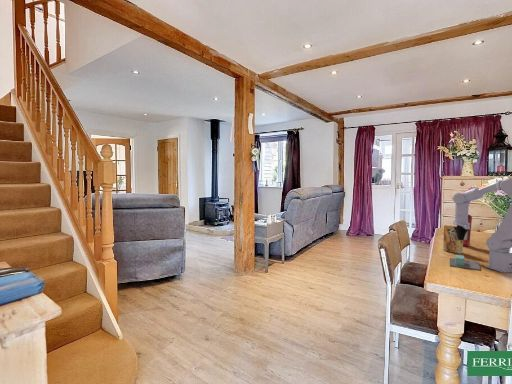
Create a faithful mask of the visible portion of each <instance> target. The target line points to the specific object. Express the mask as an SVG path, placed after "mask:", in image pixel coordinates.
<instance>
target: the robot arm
mask: <svg viewBox="0 0 512 384" xmlns="http://www.w3.org/2000/svg"><path fill="white" fill-rule="evenodd" d="M497 191H502V192H503V193H504V194H506V195H507V196H508V197H509V199H511V200H512V178H505V179H500V180H497V181H495V182H493V183H490V184H488V185H486V186H483V187H476V186H475V187H474V186H473V187H471V188H470V189H468V190H463V191H462V192H457V193H455V194H453V197H452V201H453V202H454V203H455V210H454V220H453V221H452V225H453V226H454V229H455V231H456V233H457V238H458V240H464V237H465V234H466V232H467V231H468V230H469V229H470V223H468V214H469V207H470V204H471V202H473V201H476V200H479V199H482V198H483V197H484V195H486V194H489V193H493V192H497ZM485 244H486V248H488V250H489V251H488V252H489V254H488V255H489V257H488V264H486V265H485V264H484V265H483V267H485V268H487V269H490V270H494V271H497V272H499V273H512V253H511V252H510V251H511V248H512V202H511V203H510V205H509V207H508V209H507V211H506V213H505V215H504V217H503V218H502V220H501V223H500V224H499V226H498V228H497V230H496V231H494V232H493V233H492V234H491V235H490V237H488V238H487V239H486V242H485Z"/></svg>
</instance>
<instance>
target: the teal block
mask: <svg viewBox="0 0 512 384" xmlns="http://www.w3.org/2000/svg"><path fill="white" fill-rule="evenodd" d="M454 255H455V256H454V257H455V265H462V266H464V260H465V256H464V255H462V254H454Z"/></svg>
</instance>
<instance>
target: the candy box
mask: <svg viewBox="0 0 512 384" xmlns="http://www.w3.org/2000/svg"><path fill="white" fill-rule="evenodd" d="M454 226H455V225H454V224H452V225H451V224H445V225H443V241H442V242H443V245H442V246H443V247H442V248H443V249H442V250H443V251H444V252H445V251H446V252H450V253H454V254H455V253H456V254H458V255H461V254H463V253H464V246H463V240H458V238H457V233H456V231H455V229H454Z"/></svg>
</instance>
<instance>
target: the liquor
mask: <svg viewBox="0 0 512 384" xmlns="http://www.w3.org/2000/svg"><path fill="white" fill-rule="evenodd" d="M472 220H473V216H472V215H471V214H469V213H468V223H470V229H469V230H468V231H467V232H466V234H465V237H464V240H463V248H464V247H466V248H467V247H469V246H471V234H472V233H471V232H472V223H473V222H472Z"/></svg>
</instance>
